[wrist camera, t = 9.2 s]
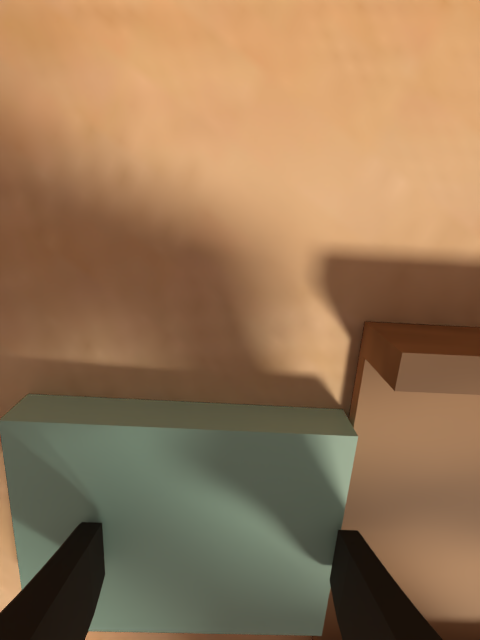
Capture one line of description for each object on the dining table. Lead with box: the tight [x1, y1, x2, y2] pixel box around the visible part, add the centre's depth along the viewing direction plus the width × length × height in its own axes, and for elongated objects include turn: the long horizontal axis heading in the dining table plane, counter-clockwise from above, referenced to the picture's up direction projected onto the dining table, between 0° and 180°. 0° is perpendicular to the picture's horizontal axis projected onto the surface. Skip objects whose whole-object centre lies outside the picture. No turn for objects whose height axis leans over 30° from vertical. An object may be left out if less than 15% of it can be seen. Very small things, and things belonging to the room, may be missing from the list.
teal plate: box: [0, 394, 358, 636], centre depth 12 cm, size 8×10×2 cm
